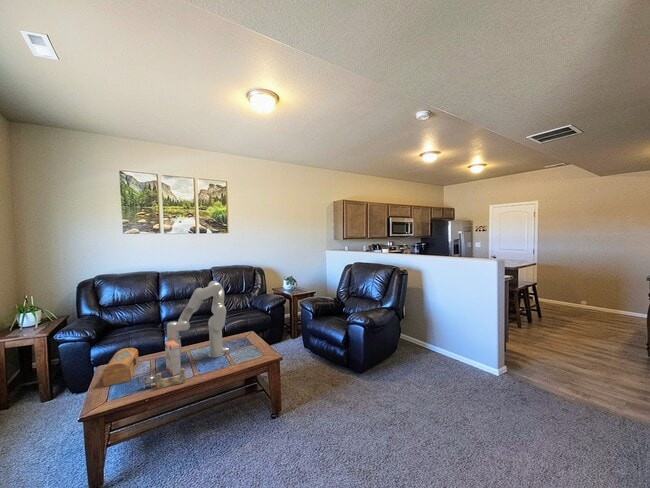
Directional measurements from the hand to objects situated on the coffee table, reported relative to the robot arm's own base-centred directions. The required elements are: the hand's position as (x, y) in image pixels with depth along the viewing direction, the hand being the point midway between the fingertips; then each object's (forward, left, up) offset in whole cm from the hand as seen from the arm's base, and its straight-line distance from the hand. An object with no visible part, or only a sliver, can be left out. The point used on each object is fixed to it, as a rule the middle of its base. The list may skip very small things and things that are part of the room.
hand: (174, 362), depth 209 cm
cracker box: (0, +11, -2) cm, 11 cm away
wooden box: (+32, -3, -3) cm, 33 cm away
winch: (+14, +27, -2) cm, 30 cm away
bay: (0, +27, -2) cm, 27 cm away
